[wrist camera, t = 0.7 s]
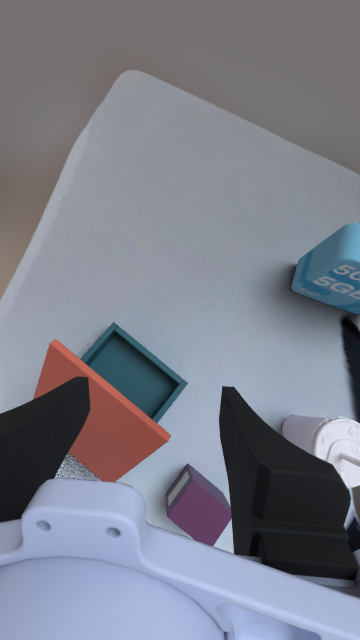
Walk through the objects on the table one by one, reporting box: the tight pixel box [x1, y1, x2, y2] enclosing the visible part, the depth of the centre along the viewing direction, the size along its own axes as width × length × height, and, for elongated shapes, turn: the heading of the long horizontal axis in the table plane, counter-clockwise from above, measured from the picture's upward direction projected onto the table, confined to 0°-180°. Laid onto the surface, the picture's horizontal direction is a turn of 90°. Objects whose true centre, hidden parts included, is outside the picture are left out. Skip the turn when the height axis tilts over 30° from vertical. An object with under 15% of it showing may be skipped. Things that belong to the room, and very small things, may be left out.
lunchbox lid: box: [33, 339, 171, 482], centre depth 25 cm, size 14×11×1 cm
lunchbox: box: [81, 322, 188, 423], centre depth 33 cm, size 13×11×4 cm
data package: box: [291, 223, 360, 315], centre depth 34 cm, size 12×4×12 cm, turn 71°
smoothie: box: [282, 415, 360, 488], centre depth 29 cm, size 6×6×14 cm
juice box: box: [166, 464, 232, 546], centre depth 31 cm, size 4×6×5 cm
